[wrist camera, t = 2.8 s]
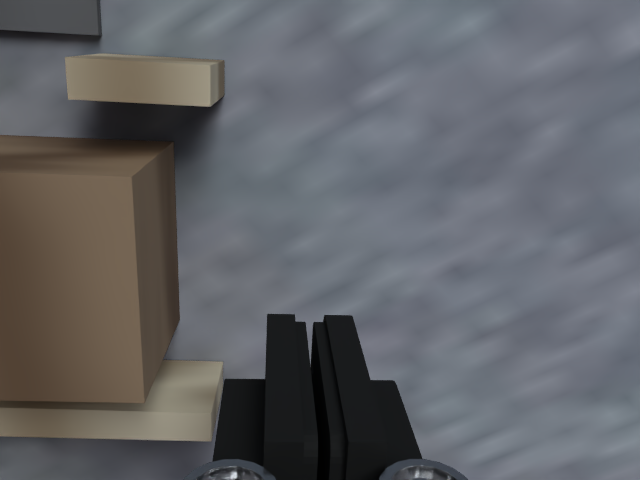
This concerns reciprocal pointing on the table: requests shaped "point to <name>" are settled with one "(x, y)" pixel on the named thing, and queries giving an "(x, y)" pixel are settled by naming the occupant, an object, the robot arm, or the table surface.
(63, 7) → the trap lane
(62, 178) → the block
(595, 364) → the table surface
